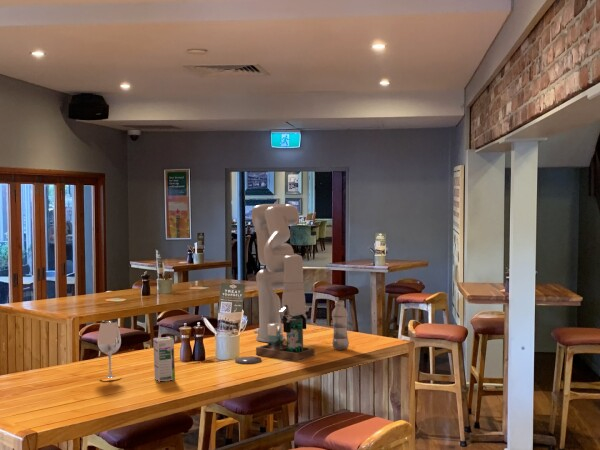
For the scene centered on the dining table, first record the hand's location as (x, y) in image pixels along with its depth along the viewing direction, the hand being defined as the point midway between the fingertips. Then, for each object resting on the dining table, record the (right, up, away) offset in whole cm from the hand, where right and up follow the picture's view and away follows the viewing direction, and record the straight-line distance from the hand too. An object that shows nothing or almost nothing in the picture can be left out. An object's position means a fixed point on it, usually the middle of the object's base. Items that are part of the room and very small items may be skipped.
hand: (295, 330), depth 264 cm
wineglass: (-64, -13, -27) cm, 71 cm away
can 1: (-8, -11, +7) cm, 15 cm away
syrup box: (-45, -13, -30) cm, 55 cm away
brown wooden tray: (-4, -11, +4) cm, 12 cm away
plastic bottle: (+19, -10, +13) cm, 25 cm away
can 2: (0, -11, +1) cm, 11 cm away
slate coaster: (-18, -11, -4) cm, 21 cm away
